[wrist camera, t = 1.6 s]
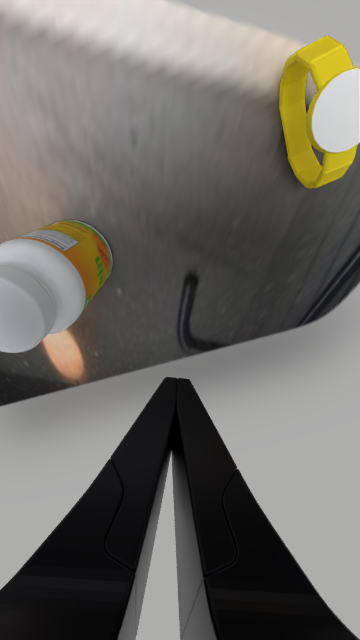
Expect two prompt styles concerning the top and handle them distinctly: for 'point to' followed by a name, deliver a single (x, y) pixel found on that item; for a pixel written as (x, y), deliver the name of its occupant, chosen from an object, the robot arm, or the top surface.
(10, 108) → the top surface
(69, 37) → the top surface
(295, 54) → the watch
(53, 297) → the supplement bottle
